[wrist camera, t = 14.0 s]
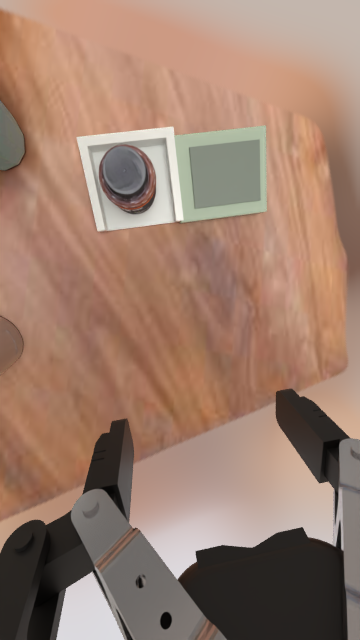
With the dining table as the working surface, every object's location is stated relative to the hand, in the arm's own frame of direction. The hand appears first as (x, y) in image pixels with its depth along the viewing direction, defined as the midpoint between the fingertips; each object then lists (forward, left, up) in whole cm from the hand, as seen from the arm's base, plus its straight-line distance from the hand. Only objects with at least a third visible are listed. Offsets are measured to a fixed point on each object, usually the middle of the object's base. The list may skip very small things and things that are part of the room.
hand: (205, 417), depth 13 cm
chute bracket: (-3, +16, -28) cm, 32 cm away
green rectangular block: (+9, +16, -28) cm, 33 cm away
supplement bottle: (-3, +15, -27) cm, 32 cm away
